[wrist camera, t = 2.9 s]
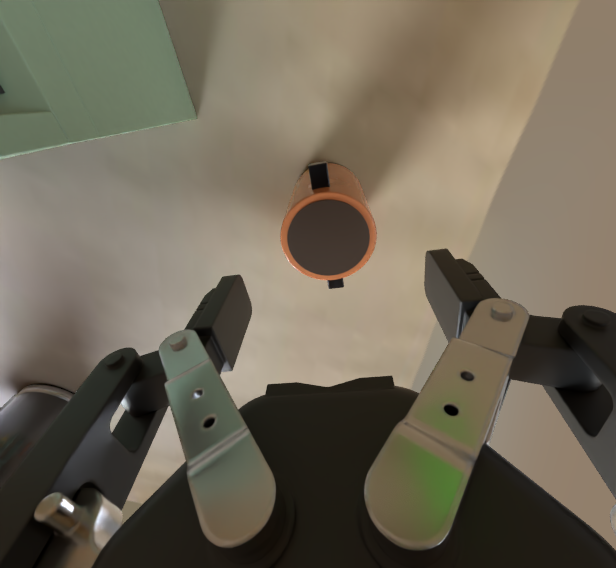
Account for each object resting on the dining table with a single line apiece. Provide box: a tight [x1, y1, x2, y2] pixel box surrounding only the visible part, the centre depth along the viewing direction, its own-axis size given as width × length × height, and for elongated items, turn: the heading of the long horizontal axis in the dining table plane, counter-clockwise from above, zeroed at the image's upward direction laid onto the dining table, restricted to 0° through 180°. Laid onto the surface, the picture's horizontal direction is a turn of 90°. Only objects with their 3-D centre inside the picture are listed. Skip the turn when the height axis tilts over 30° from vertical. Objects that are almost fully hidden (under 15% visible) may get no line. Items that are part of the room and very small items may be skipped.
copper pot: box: [281, 161, 377, 289], centre depth 20 cm, size 5×8×8 cm
